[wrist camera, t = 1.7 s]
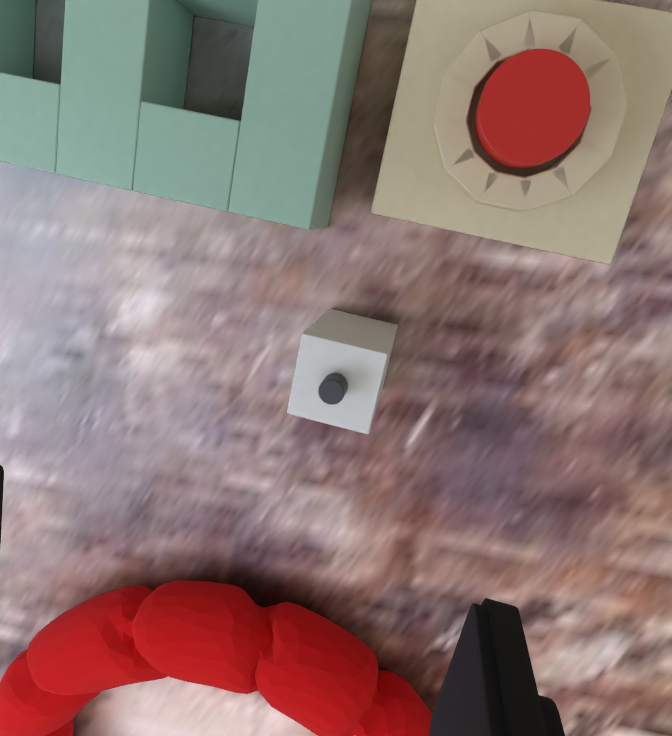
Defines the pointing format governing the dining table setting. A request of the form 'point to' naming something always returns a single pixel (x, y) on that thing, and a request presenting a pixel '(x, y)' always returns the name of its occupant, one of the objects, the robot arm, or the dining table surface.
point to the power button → (532, 108)
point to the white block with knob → (342, 370)
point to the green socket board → (166, 103)
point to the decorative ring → (206, 661)
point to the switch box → (549, 180)
